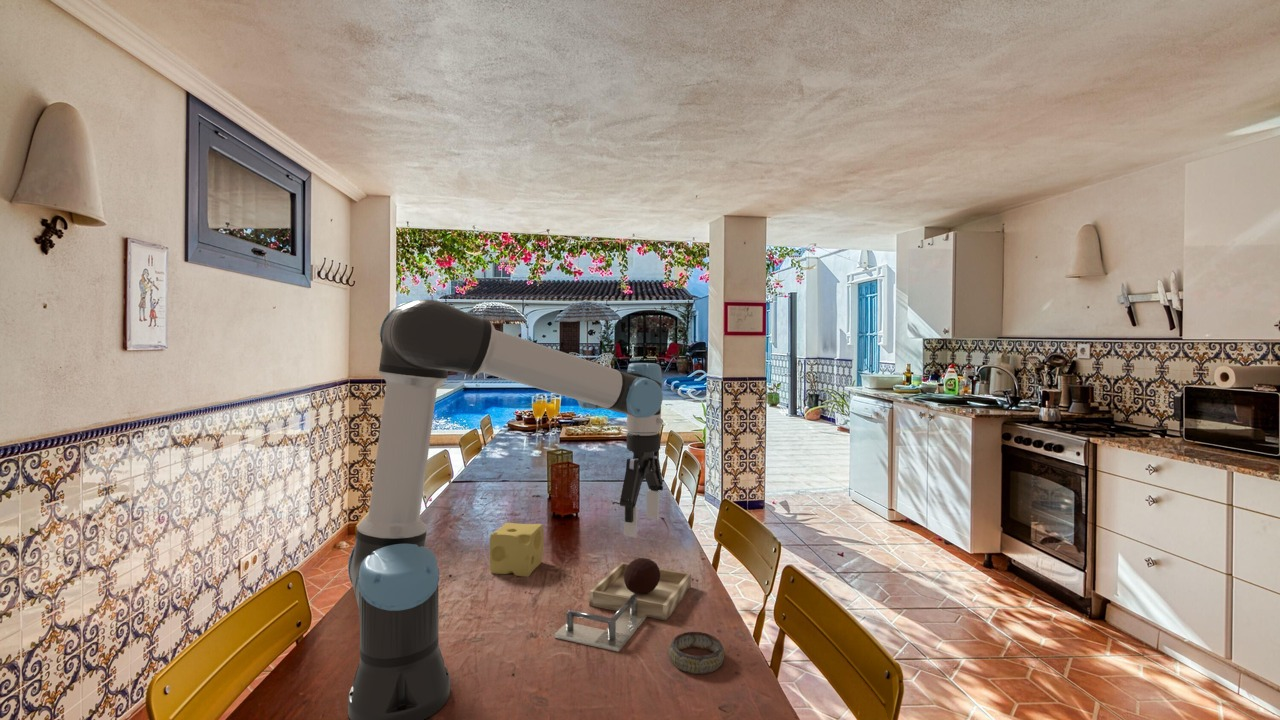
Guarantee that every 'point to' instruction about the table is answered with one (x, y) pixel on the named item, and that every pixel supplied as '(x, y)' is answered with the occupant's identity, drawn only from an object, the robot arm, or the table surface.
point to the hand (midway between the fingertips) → (641, 527)
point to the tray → (654, 603)
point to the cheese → (516, 549)
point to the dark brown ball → (642, 576)
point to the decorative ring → (696, 662)
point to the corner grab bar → (610, 638)
